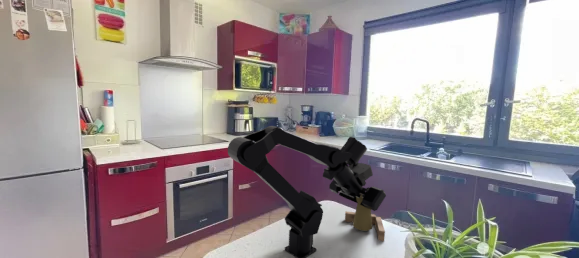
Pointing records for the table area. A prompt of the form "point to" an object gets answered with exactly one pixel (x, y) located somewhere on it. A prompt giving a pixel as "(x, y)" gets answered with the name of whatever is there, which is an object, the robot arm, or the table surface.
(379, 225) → the v block
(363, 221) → the olive yellow tapered cone
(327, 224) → the table surface
